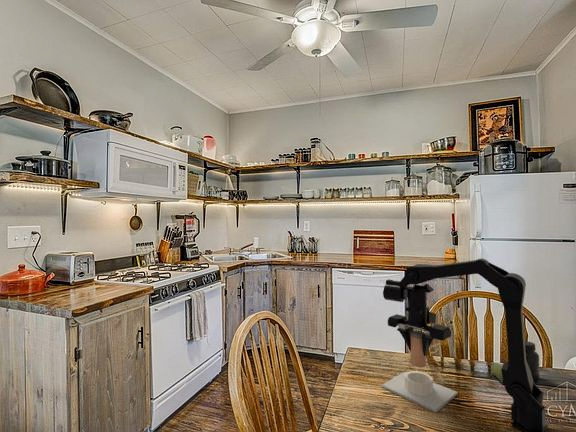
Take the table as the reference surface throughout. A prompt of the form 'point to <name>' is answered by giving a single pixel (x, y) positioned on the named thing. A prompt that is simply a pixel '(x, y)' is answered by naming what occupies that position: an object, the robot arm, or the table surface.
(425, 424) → the table surface
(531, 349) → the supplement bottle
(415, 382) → the plate with ring collar
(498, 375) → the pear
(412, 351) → the plug
